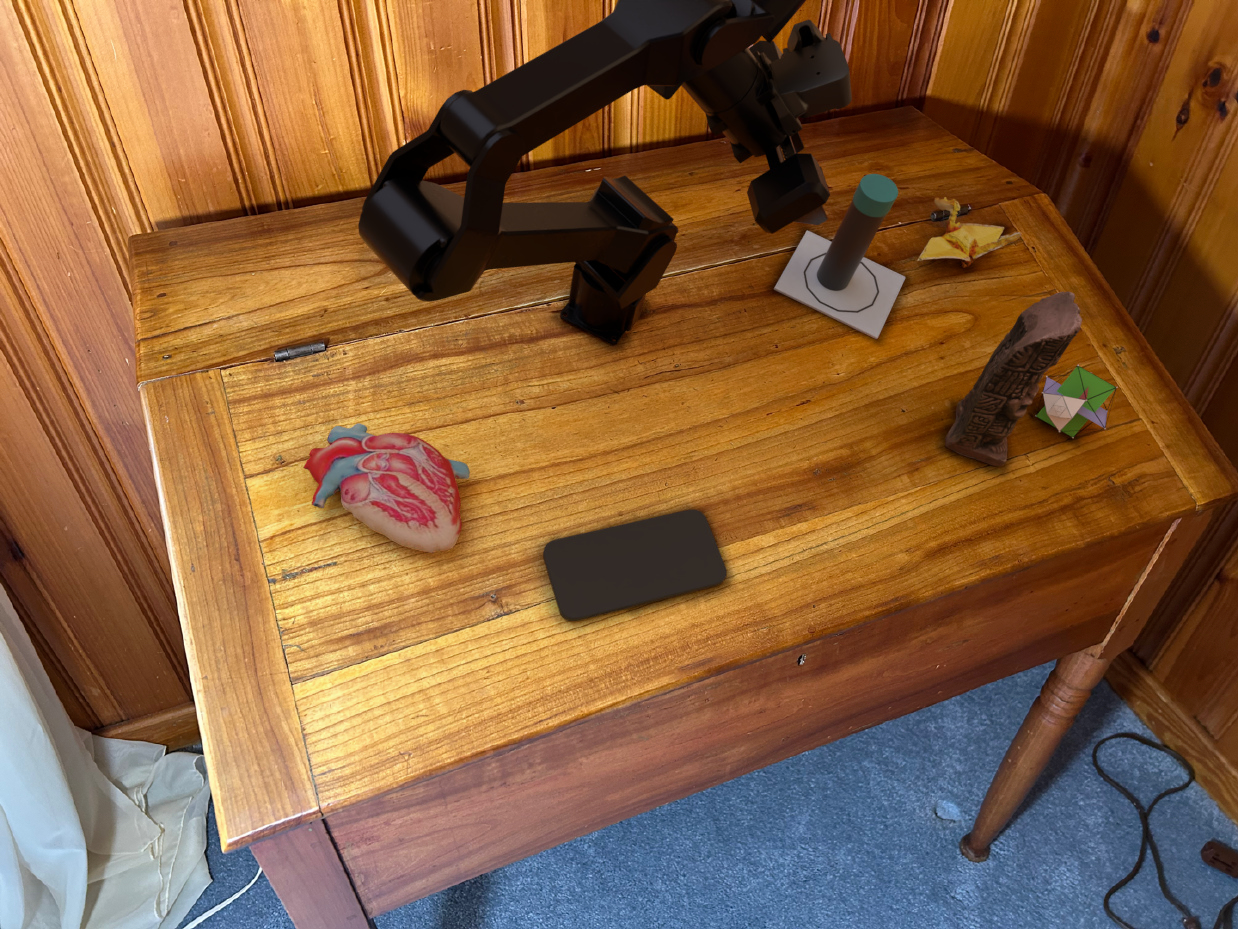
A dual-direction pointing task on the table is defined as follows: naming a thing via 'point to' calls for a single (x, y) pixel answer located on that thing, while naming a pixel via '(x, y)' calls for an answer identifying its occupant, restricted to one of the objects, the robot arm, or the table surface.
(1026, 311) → the statue
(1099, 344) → the table surface
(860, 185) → the dot marker
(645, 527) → the phone
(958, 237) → the origami crane
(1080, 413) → the geometric puzzle
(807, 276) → the white rectangular board
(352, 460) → the anatomical model
